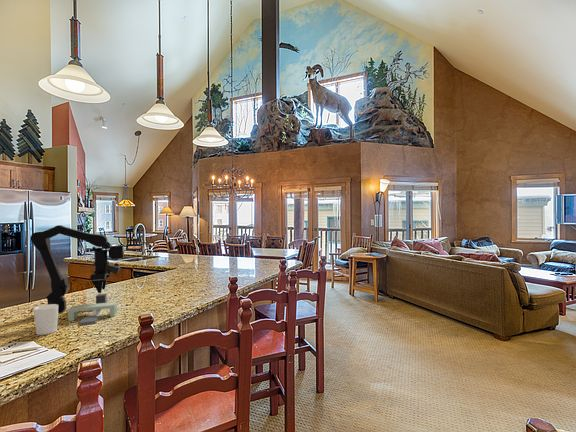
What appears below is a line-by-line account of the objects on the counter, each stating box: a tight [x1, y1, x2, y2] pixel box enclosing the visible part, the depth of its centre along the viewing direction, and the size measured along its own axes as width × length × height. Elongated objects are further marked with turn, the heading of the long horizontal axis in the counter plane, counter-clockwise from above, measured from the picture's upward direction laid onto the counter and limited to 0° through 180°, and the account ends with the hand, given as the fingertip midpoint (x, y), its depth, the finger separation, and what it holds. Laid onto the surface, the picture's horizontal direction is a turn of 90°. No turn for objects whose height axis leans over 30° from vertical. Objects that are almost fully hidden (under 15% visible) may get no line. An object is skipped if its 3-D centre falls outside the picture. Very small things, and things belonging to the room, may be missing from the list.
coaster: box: [79, 316, 100, 326], centre depth 141 cm, size 6×6×2 cm
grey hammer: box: [88, 293, 108, 318], centre depth 157 cm, size 4×21×6 cm, turn 19°
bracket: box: [67, 301, 118, 322], centre depth 149 cm, size 18×6×5 cm, turn 109°
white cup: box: [33, 303, 59, 336], centre depth 130 cm, size 8×8×10 cm
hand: (101, 291), depth 165 cm, fingers open, 9 cm apart
